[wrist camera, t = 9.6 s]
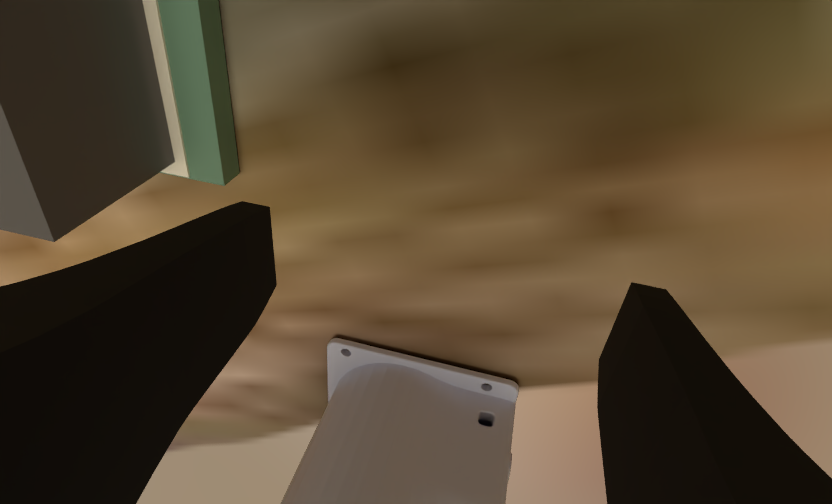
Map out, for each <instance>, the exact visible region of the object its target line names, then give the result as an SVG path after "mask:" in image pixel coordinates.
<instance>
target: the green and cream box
mask: <svg viewBox="0 0 832 504" xmlns="http://www.w3.org/2000/svg"><path fill="white" fill-rule="evenodd" d="M142 1H143V6H144V11H145V16H146V21H147V26H148V31H149V36H150V41H151V46H152V50H153V55H154V60H155V65H156V70H157V75H158V80H159V85H160V90H161V95H162V100H163V105H164V109H165V114H166V119H167V124H168V129H169V134H170V139H171V144H172V149H173V154H174V159H175V162H174V163H173V164H171V165H170V166H168V167H167V168H165V169H164V170H162V171H161V172H159V173H164V174H169V175H174V176H179V177H184V178H189V179H194V180H198V181H203V182H208V183H213V184H218V185H223V186H225V185H226V184H227V183H228V182H230V181H231V180H232V179H233V178H234V177H236V176H237V175H238V174H239V173H240V172H239V164H238V156H237V148H236V140H235V132H234V123H233V115H232V107H231V99H230V91H229V83H228V74H227V66H226V58H225V50H224V42H223V34H222V25H221V17H220V9H219V1H218V0H142Z"/></svg>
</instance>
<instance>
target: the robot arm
mask: <svg viewBox="0 0 832 504" xmlns="http://www.w3.org/2000/svg"><path fill="white" fill-rule="evenodd" d="M276 285H277V284H276V272H275V261H274V250H273V239H272V228H271V216H270V207H267V206H262V205H258V204H253V203H248V202H243V201H242V202H239V203H236V204H232V205H229V206H227V207H224V208H221V209H219V210H216V211H214V212H211V213H209V214H206V215H204V216H201V217H199V218H196V219H194V220H192V221H189V222H187V223H184V224H182V225H180V226H177V227H175V228H172V229H170V230H167V231H165V232H162V233H160V234H158V235H155V236H153V237H150V238H148V239H145V240H143V241H140V242H137V243H135V244H132V245H129V246H127V247H124V248H121V249H119V250H116V251H113V252H111V253H108V254H105V255H102V256H100V257H97V258H94V259H92V260H89V261H86V262H83V263H80V264H77V265H74V266H71V267H68V268H65V269H62V270H58V271H55V272H52V273H48V274H45V275H41V276H38V277H34V278H31V279H28V280H24V281H21V282H17V283H13V284H9V285H5V286H1V287H0V504H136V503H137V501H138V499H139V497H140V496H141V494H142V492H143V490H144V489H145V487H146V485H147V483H148V481H149V479H150V478H151V476H152V474H153V472H154V471H155V469H156V467H157V466H158V464H159V462H160V461H161V459H162V457H163V456H164V454H165V452H166V451H167V449H168V447H169V446H170V444H171V442H172V441H173V439H174V437H175V435H176V434H177V432H178V430H179V429H180V427H181V426H182V424H183V423H184V421H185V420H186V418H187V417H188V415H189V414H190V413H191V411H192V410H193V408H194V407H195V405H196V404H197V403H198V401H199V400H200V399H201V397H202V396H203V395H204V393H205V392H206V391H207V389H208V388H209V387H210V385H211V384H212V383H213V381H214V380H215V379H216V377H217V376H218V375H219V373H220V372H221V371H222V369H223V368H224V367H225V365H226V364H227V363H228V361H229V360H230V359H231V357H232V356H233V354H234V353H235V352H236V350H237V349H238V348H239V346H240V345H241V344H242V342H243V341H244V339H245V338H246V337H247V335H248V334H249V333H250V331H251V330H252V328H253V327H254V326H255V324H256V322H257V321H258V319H259V317H260V315H261V314H262V312H263V310H264V308H265V306H266V305H267V303H268V301H269V299H270V297H271V295H272V293H273V291H274V289H275V287H276ZM346 349H347V350H346ZM348 350H349V351H348ZM327 372H328V405H327V407H326V409H325V411H324V414H323V416H322V418H321V420H320V422H319V424H318V426H317V428H316V430H315V433H314V435H313V437H312V439H311V441H310V443H309V445H308V447H307V449H306V451H305V454H304V456H303V458H302V460H301V462H300V464H299V466H298V468H297V470H296V472H295V474H294V477H293V479H292V481H291V483H290V485H289V487H288V489H287V491H286V493H285V495H284V498H283V500H282V502H281V504H505V500H506V491H507V484H508V480H509V474H510V469H511V461H512V454H511V442H512V432H513V422H514V414H515V403H516V400H517V397H518V392H519V386H518V384H517V383H515V382H514V381H512V380H509V379H505V378H501V377H496V376H492V375H488V374H484V373H480V372H476V371H472V370H468V369H463V368H459V367H455V366H451V365H447V364H443V363H439V362H435V361H431V360H426V359H422V358H418V357H414V356H410V355H406V354H402V353H398V352H394V351H389V350H385V349H381V348H377V347H373V346H369V345H365V344H361V343H356V342H352V341H348V340H344V339H340V338H333V339H331V340H330V341H329V343H328V346H327ZM484 383H486V384H489V385H486V384H484ZM598 418H599V429H600V439H601V448H602V458H603V467H604V477H605V486H606V495H607V504H832V478H830V477H829V476H828V475H827V474H826V473H825V472H824V471H823V470H822V469H821V468H820V467H819V466H818V465H817V464H816V463H815V462H814V461H813V460H812V459H811V458H810V457H809V456H808V455H807V454H806V453H804V451H803V450H802V449H801V448H800V447H799V446H798V445H797V444H796V443H795V442H794V441H793V440H792V439H791V438H790V437H789V436H788V435H787V434H786V433H785V432H784V431H783V430H782V429H781V427H780V426H779V425H778V424H777V423H776V422H775V421H774V420H773V419H772V418H771V416H770V415H769V414H768V413H767V412H766V411H765V410H764V409H763V408H762V407H761V405H760V404H759V403H758V402H757V401H756V400H755V399H754V398H753V397H752V395H751V394H750V393H749V392H748V391H747V390H746V388H745V387H744V386H743V385H742V384H741V383H740V381H739V380H738V379H737V378H736V377H735V376H734V374H733V373H732V372H731V371H730V369H728V367H727V366H726V365H725V363H724V362H723V361H722V360H721V358H720V357H719V356H718V355H717V353H716V352H715V351H714V350H713V348H712V347H711V346H710V345H709V343H708V342H707V341H706V340H705V338H704V337H703V336H702V334H701V333H700V332H699V331H698V329H697V328H696V327H695V325H694V324H693V323H692V322H691V320H690V319H689V318H688V316H687V315H686V314H685V312H684V311H683V310H682V309H681V307H680V306H679V305H678V304H677V302H676V301H675V300H674V299H673V297H672V296H671V295H670V294H669V293H668V291H667V290H666V289H661V288H656V287H651V286H647V285H642V284H637V283H632V282H631V285H630V287H629V290H628V292H627V294H626V297H625V299H624V301H623V304H622V306H621V309H620V311H619V313H618V316H617V318H616V320H615V323H614V325H613V328H612V330H611V332H610V335H609V337H608V339H607V342H606V344H605V347H604V349H603V351H602V354H601V356H600V358H599V372H598Z"/></svg>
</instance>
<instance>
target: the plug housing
mask: <svg viewBox="0 0 832 504" xmlns="http://www.w3.org/2000/svg"><path fill="white" fill-rule="evenodd" d="M174 162H175V159H174V154H173V149H172V144H171V139H170V134H169V129H168V124H167V119H166V114H165V109H164V105H163V100H162V95H161V90H160V85H159V80H158V75H157V70H156V65H155V60H154V55H153V50H152V46H151V41H150V36H149V31H148V26H147V21H146V16H145V11H144V6H143V1H142V0H0V229H1V230H5V231H9V232H14V233H18V234H22V235H27V236H31V237H35V238H40V239H44V240H48V241H53V242H55V241H57V240H58V239H60V238H61V237H63V236H64V235H66V234H67V233H69V232H70V231H72V230H73V229H75V228H76V227H78V226H79V225H81V224H82V223H84V222H85V221H87V220H88V219H90V218H91V217H93V216H94V215H96V214H97V213H99V212H100V211H102V210H103V209H105V208H106V207H108V206H109V205H111V204H112V203H114V202H115V201H117V200H118V199H120V198H121V197H123V196H124V195H126V194H127V193H129V192H130V191H132V190H133V189H135V188H136V187H138V186H139V185H141V184H143V183H144V182H146V181H147V180H149V179H150V178H152V177H153V176H155V175H156V174H158V173H159V172H161V171H162V170H164V169H165V168H167V167H168V166H170V165H171V164H173V163H174Z"/></svg>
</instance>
